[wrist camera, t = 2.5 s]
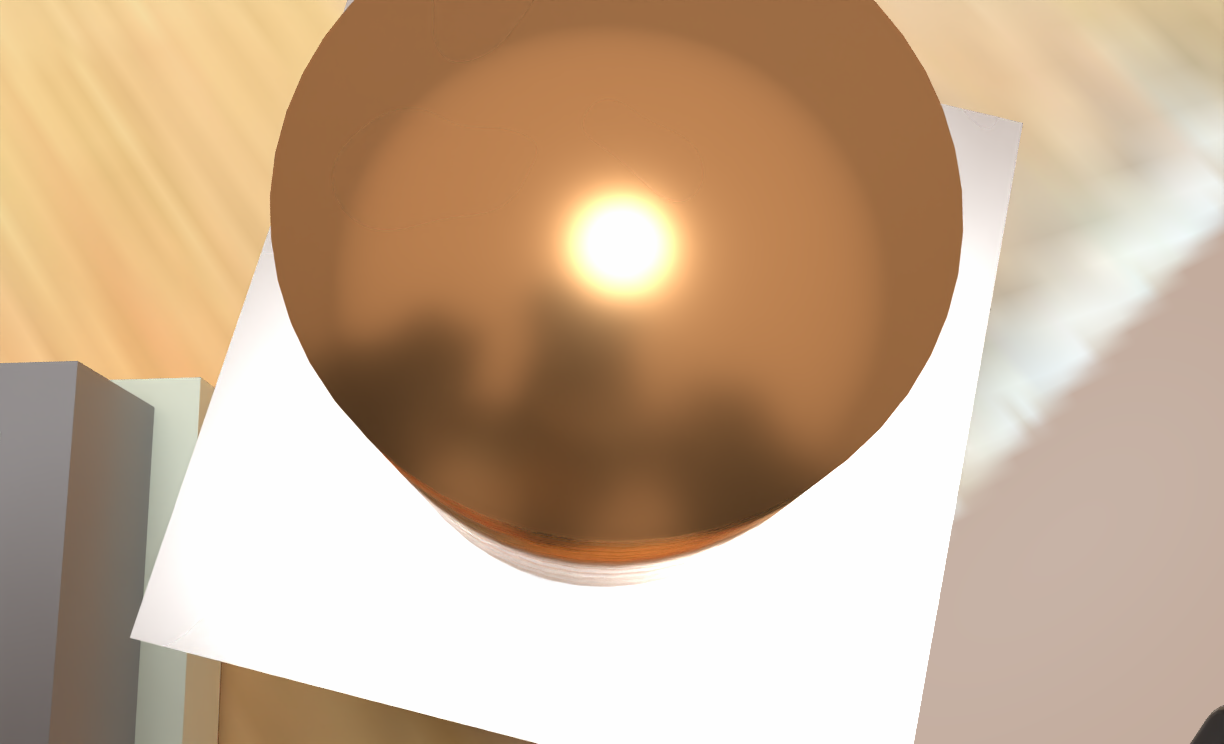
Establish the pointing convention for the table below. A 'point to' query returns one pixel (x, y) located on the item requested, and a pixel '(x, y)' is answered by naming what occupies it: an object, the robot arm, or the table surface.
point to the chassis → (93, 557)
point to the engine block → (600, 374)
